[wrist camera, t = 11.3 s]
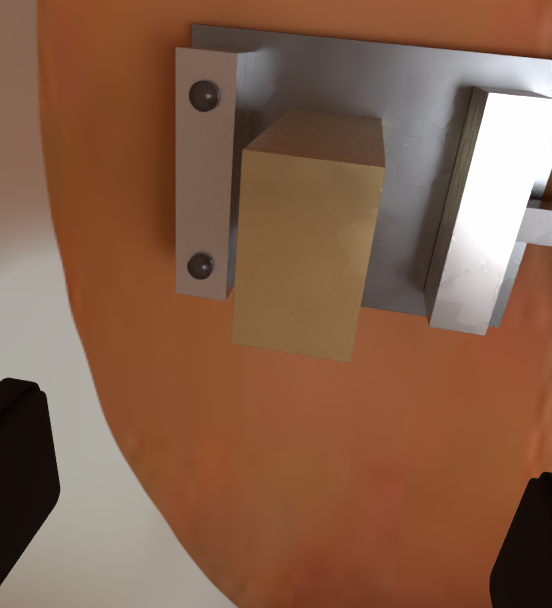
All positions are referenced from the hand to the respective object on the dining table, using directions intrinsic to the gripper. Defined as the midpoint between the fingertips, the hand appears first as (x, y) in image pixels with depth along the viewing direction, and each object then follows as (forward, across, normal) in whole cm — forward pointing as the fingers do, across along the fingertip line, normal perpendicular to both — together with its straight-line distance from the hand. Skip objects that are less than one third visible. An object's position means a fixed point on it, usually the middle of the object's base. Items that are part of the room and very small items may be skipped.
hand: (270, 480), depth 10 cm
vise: (+24, -1, 0) cm, 24 cm away
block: (+23, +1, 0) cm, 23 cm away
